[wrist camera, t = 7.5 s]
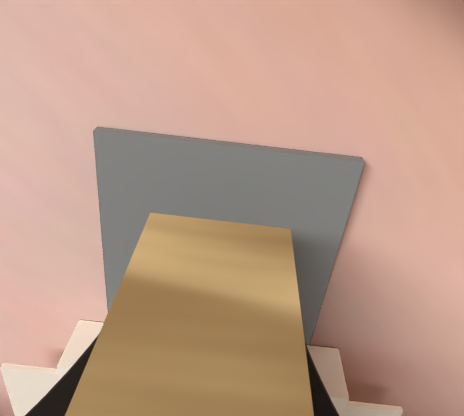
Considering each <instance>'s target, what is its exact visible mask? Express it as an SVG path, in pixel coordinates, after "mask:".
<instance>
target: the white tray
mask: <svg viewBox="0 0 464 416" xmlns="http://www.w3.org/2000/svg"><path fill="white" fill-rule="evenodd" d="M103 324H104V323H103V322H94V321H85V320H79V322H78V324H77V326H76V328H75V330H74V332H73V334H72V336H71V338H70V340H69V342H68V344H67V346H66V348H65V350H64V352H63V354H62V356H61V358H60V360H59V362H58V364H57V369H55V368H46V367H36V366H27V365H18V364H9V363H3V364H2V365H1V367H0V370H1V373H2V376H3V379H4V383H5V386H6V389H7V392H8V396H9V399H10V402H11V405H12V409H13V412H14V415H15V416H25V415H26V414H27V413H28V412H29V411H30V410H31V409H32V408H33V407H34V406H35V405H36V404H37V403H38V402H39V401H40V400H41V399H42V398H43V397H44V396H45V395H46V394H47V393H48V392H49V391H50V390H51V389H52V387H53V386H54V385H55V384H56V383H57V382H58V381H59V380H60V379H61V378H62V377H63V376H64V375H65V374H66V372H67V371H68V370H69V369H70V368H71V367H72V366H73V365H74V363H75V362H76V361H77V360H78V359H79V357H80V356H81V355H82V354H83V353H84V352H85V350H86V349H87V348H88V347H89V346H90V344H91V343H92V342H93V341H94V339H95V338H96V337H97V336H98V334H99V333H100V331H101V329H102V326H103ZM307 348H308V350H309V353H310V355H311V358H312V360H313V362H314V364H315V367H316V369H317V371H318V374H319V376H320V378H321V380H322V382H323V384H324V386H325V388H326V390H327V392H328V394H329V396H330V399H331V401H332V403H333V404H334V406H335V408H336V410H337V412H338V414H339V416H401V415H402V413H403V410H402V407H401V406H392V405H383V404H374V403H364V402H355V401H348V400H349V395H348V391H347V386H346V381H345V376H344V372H343V367H342V362H341V358H340V353H339V349H337V348H328V347H319V346H310V345H307Z"/></svg>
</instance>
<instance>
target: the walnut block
mask: <svg viewBox="0 0 464 416" xmlns="http://www.w3.org/2000/svg"><path fill="white" fill-rule="evenodd" d="M65 416H314V412H313V404H312V396H311V388H310V380H309V372H308V364H307V356H306V348H305V340H304V332H303V324H302V316H301V308H300V300H299V292H298V284H297V276H296V268H295V260H294V252H293V244H292V236H291V229H288V228H280V227H271V226H262V225H253V224H245V223H236V222H227V221H219V220H210V219H201V218H193V217H184V216H175V215H166V214H158V213H150V215H149V217H148V219H147V222H146V224H145V226H144V229H143V231H142V234H141V236H140V238H139V241H138V243H137V246H136V248H135V250H134V253H133V255H132V257H131V260H130V262H129V265H128V267H127V269H126V272H125V274H124V276H123V279H122V281H121V284H120V286H119V288H118V291H117V293H116V295H115V298H114V300H113V303H112V305H111V307H110V310H109V312H108V314H107V317H106V319H105V322H104V324H103V326H102V329H101V331H100V333H99V336H98V338H97V341H96V343H95V345H94V348H93V350H92V352H91V355H90V357H89V360H88V362H87V364H86V367H85V369H84V372H83V374H82V376H81V379H80V381H79V383H78V386H77V388H76V391H75V393H74V395H73V398H72V400H71V402H70V405H69V407H68V410H67V412H66V414H65Z"/></svg>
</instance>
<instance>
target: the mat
mask: <svg viewBox="0 0 464 416" xmlns="http://www.w3.org/2000/svg"><path fill="white" fill-rule="evenodd" d="M93 136H94V148H95V160H96V173H97V185H98V197H99V209H100V222H101V234H102V246H103V259H104V271H105V283H106V296H107V308H108V312H109V310H110V307H111V305H112V303H113V300H114V298H115V295H116V293H117V291H118V288H119V286H120V284H121V281H122V279H123V276H124V274H125V272H126V269H127V267H128V265H129V262H130V260H131V257H132V255H133V253H134V250H135V248H136V246H137V243H138V241H139V238H140V236H141V234H142V231H143V229H144V226H145V224H146V222H147V219H148V217H149V215H150V213H158V214H166V215H175V216H184V217H193V218H201V219H210V220H219V221H227V222H236V223H245V224H253V225H262V226H271V227H280V228H288V229H291V236H292V244H293V252H294V260H295V268H296V276H297V284H298V292H299V300H300V308H301V316H302V324H303V332H304V340H305V342H306V344H307V345H310V342H311V338H312V335H313V332H314V328H315V325H316V322H317V319H318V315H319V312H320V309H321V305H322V302H323V299H324V295H325V292H326V289H327V285H328V282H329V279H330V275H331V272H332V269H333V266H334V262H335V259H336V256H337V252H338V249H339V246H340V242H341V239H342V236H343V232H344V229H345V226H346V222H347V219H348V216H349V213H350V209H351V206H352V203H353V199H354V196H355V193H356V189H357V186H358V183H359V179H360V176H361V173H362V170H363V166H364V163H365V162H364V160H363V158H362V157H354V156H345V155H337V154H328V153H319V152H311V151H302V150H294V149H285V148H276V147H268V146H259V145H250V144H242V143H233V142H225V141H216V140H207V139H199V138H190V137H182V136H173V135H164V134H156V133H147V132H138V131H130V130H121V129H113V128H104V127H96V128H95V130H94V131H93Z"/></svg>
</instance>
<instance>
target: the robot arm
mask: <svg viewBox="0 0 464 416" xmlns="http://www.w3.org/2000/svg"><path fill="white" fill-rule="evenodd" d="M98 336H99V334H98ZM98 336H97V337H96V338H95V339H94V341H93V342H92V343H91V344H90V346H89V347H88V348H87V349H86V350H85V352H84V353H83V354H82V355H81V356H80V357H79V359H78V360H77V361H76V362H75V363H74V365H73V366H72V367H71V368H70V369H69V370H68V371H67V372H66V374H65V375H64V376H63V377H62V378H61V379H60V380H59V381H58V382H57V383H56V384H55V385H54V386H53V387H52V389H51V390H50V391H49V392H48V393H47V394H46V395H45V396H44V397H43V398H42V399H41V400H40V401H39V402H38V403H37V404H36V405H35V406H34V407H33V408H32V409H31V410H30V411H29V412H28V413H27V414H26V415H25V416H65V414H66V412H67V410H68V407H69V405H70V402H71V400H72V398H73V395H74V393H75V391H76V388H77V386H78V383H79V381H80V379H81V376H82V374H83V372H84V369H85V367H86V364H87V362H88V360H89V357H90V355H91V352H92V350H93V348H94V345H95V343H96V341H97V338H98ZM305 348H306V356H307V364H308V372H309V380H310V388H311V396H312V404H313V412H314V416H339V414H338V412H337V410H336V408H335V406H334V404H333V403H332V401H331V399H330V396H329V394H328V392H327V390H326V388H325V386H324V384H323V382H322V380H321V378H320V376H319V374H318V371H317V369H316V367H315V364H314V362H313V360H312V358H311V355H310V353H309V350H308V348H307V345H306V342H305Z"/></svg>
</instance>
